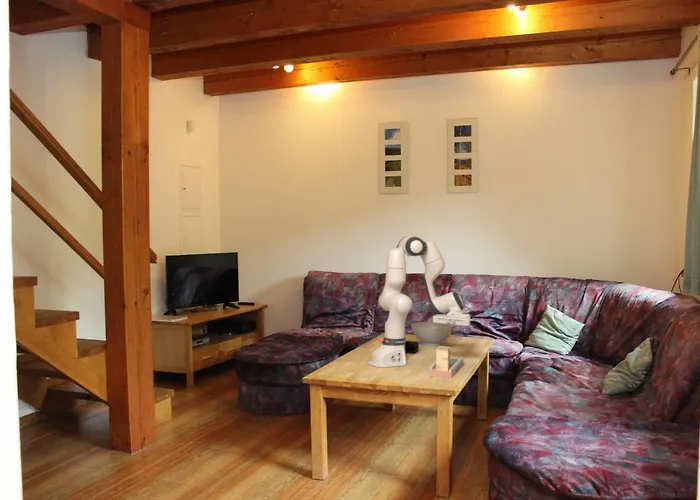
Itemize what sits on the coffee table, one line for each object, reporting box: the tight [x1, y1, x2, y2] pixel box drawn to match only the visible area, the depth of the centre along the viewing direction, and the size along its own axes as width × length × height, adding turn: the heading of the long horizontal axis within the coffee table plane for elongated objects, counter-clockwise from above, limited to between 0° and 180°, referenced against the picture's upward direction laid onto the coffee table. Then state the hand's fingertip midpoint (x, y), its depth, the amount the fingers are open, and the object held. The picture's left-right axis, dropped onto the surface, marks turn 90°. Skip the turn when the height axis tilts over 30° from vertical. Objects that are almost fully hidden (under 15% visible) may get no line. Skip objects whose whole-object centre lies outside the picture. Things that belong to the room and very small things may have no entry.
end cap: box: [405, 340, 420, 355], centre depth 366 cm, size 10×7×7 cm
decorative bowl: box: [410, 321, 454, 346], centre depth 394 cm, size 27×27×12 cm
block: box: [435, 345, 451, 371], centre depth 309 cm, size 6×6×11 cm
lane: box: [429, 356, 464, 379], centre depth 319 cm, size 32×11×4 cm, turn 159°
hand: (448, 322), depth 321 cm, fingers closed
